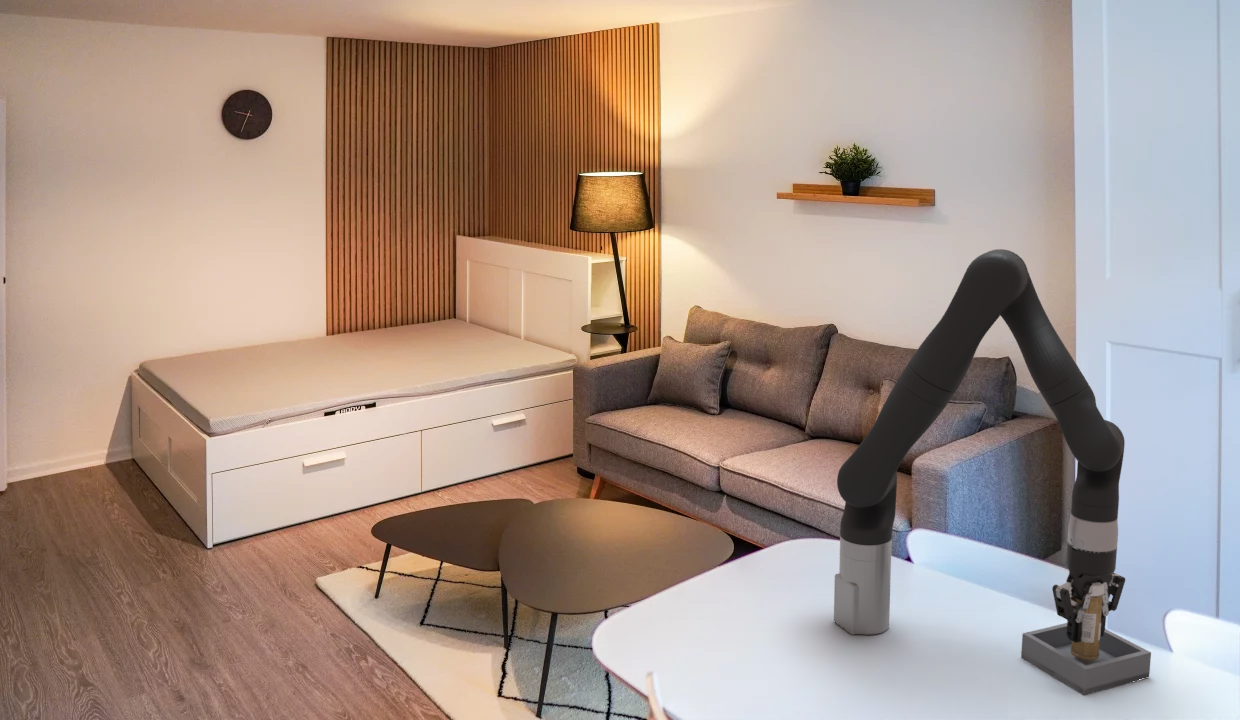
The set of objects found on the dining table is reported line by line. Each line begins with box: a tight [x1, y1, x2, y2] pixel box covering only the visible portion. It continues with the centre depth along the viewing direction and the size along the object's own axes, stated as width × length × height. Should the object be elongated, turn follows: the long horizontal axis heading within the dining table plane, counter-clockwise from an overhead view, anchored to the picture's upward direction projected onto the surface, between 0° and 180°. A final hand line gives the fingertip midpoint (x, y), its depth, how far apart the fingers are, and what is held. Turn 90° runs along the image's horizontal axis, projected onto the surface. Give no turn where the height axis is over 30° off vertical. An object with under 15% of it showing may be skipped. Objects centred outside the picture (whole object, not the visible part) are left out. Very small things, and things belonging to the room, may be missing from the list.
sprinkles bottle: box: [1070, 582, 1104, 660], centre depth 176 cm, size 5×5×13 cm
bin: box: [1020, 622, 1152, 696], centre depth 177 cm, size 14×14×4 cm
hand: (1085, 637), depth 177 cm, fingers closed on sprinkles bottle, 4 cm apart
